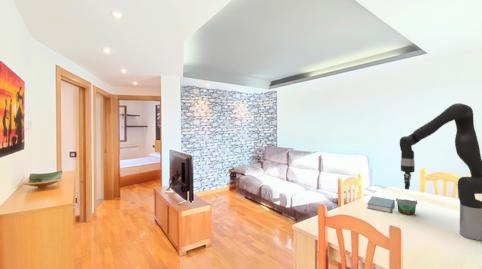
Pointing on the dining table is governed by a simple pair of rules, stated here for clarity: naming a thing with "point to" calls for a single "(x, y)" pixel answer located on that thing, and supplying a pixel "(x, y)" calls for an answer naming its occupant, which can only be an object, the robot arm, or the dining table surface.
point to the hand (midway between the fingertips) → (407, 187)
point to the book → (381, 204)
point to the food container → (406, 206)
